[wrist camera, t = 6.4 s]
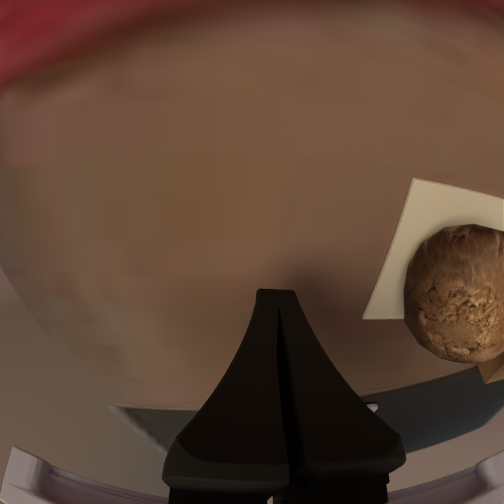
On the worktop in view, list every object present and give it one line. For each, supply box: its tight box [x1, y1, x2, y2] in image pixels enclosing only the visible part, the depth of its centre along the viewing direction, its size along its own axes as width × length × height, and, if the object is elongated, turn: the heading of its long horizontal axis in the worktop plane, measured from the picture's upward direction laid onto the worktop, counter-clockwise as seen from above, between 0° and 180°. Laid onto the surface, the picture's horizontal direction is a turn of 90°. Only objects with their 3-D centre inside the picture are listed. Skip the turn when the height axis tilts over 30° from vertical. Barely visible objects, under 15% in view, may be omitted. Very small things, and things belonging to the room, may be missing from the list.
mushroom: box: [403, 224, 504, 363], centre depth 13 cm, size 8×8×6 cm
